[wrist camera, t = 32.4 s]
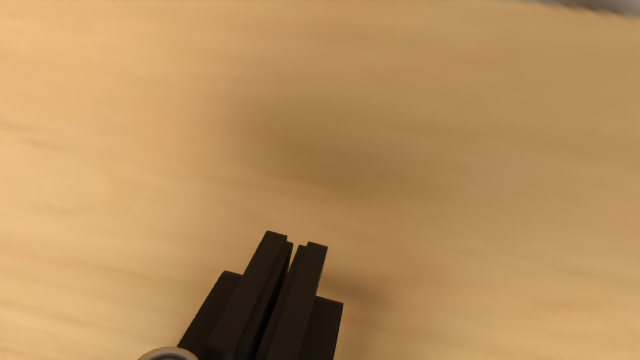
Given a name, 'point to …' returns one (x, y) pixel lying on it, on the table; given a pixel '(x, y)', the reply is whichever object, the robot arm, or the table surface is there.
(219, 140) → the table surface
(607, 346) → the table surface
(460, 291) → the table surface
